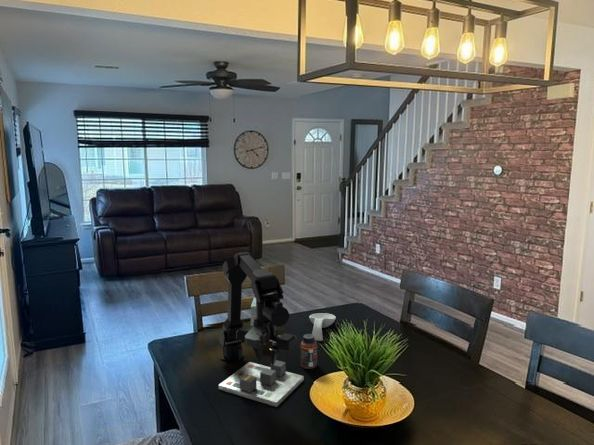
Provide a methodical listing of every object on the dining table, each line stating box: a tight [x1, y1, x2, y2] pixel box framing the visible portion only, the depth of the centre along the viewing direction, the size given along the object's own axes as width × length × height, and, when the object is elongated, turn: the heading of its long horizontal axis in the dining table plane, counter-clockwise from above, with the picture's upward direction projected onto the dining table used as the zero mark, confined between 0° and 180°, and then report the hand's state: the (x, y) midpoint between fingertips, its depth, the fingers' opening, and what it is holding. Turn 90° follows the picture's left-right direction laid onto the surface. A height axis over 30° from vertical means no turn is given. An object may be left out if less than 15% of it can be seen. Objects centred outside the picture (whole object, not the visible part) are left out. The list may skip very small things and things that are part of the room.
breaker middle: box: [260, 368, 276, 386], centre depth 147 cm, size 4×4×4 cm
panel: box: [218, 361, 305, 408], centre depth 149 cm, size 22×18×2 cm
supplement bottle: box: [300, 333, 318, 370], centre depth 161 cm, size 6×6×11 cm
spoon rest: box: [308, 312, 337, 342], centre depth 193 cm, size 24×12×7 cm, turn 170°
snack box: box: [250, 296, 256, 326], centre depth 191 cm, size 21×6×15 cm, turn 179°
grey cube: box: [240, 374, 257, 392], centre depth 143 cm, size 4×4×4 cm
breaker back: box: [269, 359, 287, 377], centre depth 153 cm, size 4×4×4 cm
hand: (266, 363), depth 138 cm, fingers open, 4 cm apart
